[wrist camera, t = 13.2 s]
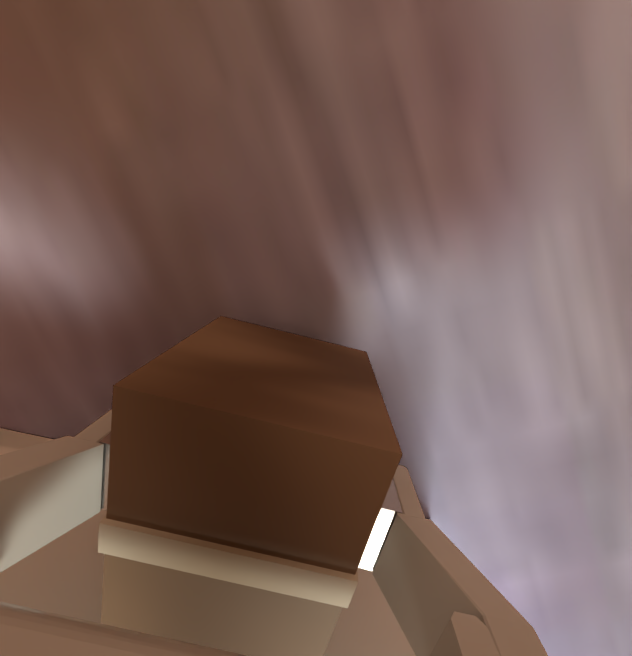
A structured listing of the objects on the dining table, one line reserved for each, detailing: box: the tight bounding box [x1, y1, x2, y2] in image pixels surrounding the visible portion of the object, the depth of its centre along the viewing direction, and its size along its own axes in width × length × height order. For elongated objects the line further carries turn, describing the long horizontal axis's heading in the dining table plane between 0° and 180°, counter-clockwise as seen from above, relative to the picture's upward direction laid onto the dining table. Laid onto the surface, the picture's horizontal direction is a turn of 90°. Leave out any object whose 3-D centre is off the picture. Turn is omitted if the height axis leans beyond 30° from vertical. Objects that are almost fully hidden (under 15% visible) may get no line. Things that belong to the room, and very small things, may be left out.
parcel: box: [98, 316, 402, 656], centre depth 7 cm, size 5×6×5 cm
